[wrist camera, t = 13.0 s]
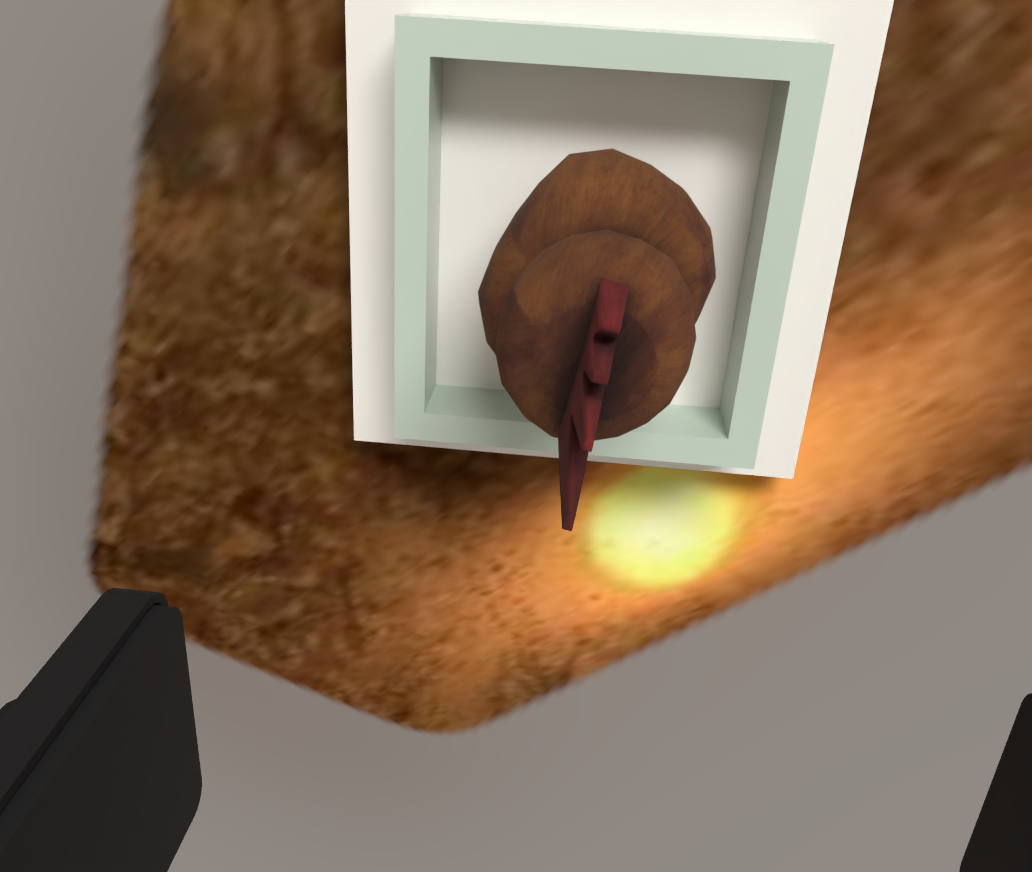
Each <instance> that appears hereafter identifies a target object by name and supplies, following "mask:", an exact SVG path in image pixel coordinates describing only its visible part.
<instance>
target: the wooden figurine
mask: <svg viewBox="0 0 1032 872" xmlns="http://www.w3.org/2000/svg"><path fill="white" fill-rule="evenodd" d="M715 279H716V267H715V258H714V248H713V239H712V233H711V228H710V226H709V225H708V223H707V222H706V220H705V219H704V217H703V216H702V214H701V213H700V211H699V210H698V208H697V207H696V205H695V204H694V202H693V201H692V199H691V198H690V196H689V195H688V193H687V192H686V191H685V190H684V189H683V188H682V187H681V186H679V185H678V184H677V183H675V182H674V181H673V180H671V179H670V178H669V177H667V176H666V175H664V174H663V173H662V172H660V171H659V170H658V169H656V168H655V167H654V166H652V165H651V164H648V163H646V162H644V161H641V160H639V159H637V158H634V157H632V156H629V155H627V154H625V153H622V152H620V151H617V150H615V149H613V148H612V149H604V150H596V151H588V152H581V153H573V154H569V155H568V156H567V157H565V158H564V159H563V160H562V161H561V162H560V163H559V164H558V165H557V166H556V167H555V168H554V169H553V170H552V171H551V172H550V173H549V174H548V175H547V176H545V177H544V178H543V179H542V180H541V181H540V182H539V183H538V185H537V186H536V187H535V189H534V190H533V191H532V192H531V194H530V195H529V196H528V198H527V199H526V200H525V202H524V203H523V204H522V205H521V207H520V208H519V209H518V211H517V212H516V213H515V215H514V217H513V218H512V220H511V222H510V223H509V225H508V227H507V228H506V230H505V232H504V233H503V235H502V237H501V238H500V240H499V242H498V243H497V245H496V247H495V249H494V252H493V254H492V256H491V259H490V261H489V264H488V267H487V269H486V272H485V274H484V277H483V279H482V282H481V285H480V287H479V290H478V298H479V305H480V311H481V316H482V321H483V326H484V332H485V337H486V342H487V344H488V345H489V346H490V348H491V349H492V350H493V352H494V353H495V355H496V359H497V364H498V369H499V374H500V379H501V384H502V385H503V387H504V388H505V390H506V391H507V393H508V394H509V395H510V397H511V398H512V400H513V401H514V403H515V404H516V406H517V407H518V408H519V410H520V411H521V413H522V414H523V415H524V417H525V418H526V419H528V420H529V421H531V422H532V423H533V424H535V425H536V426H538V427H539V428H540V429H542V430H543V431H544V432H546V433H547V434H549V435H550V436H551V437H555V438H558V452H559V474H560V495H561V515H562V529H565V530H569V531H572V528H573V524H574V520H575V515H576V510H577V506H578V501H579V496H580V491H581V487H582V482H583V477H584V472H585V468H586V463H587V458H588V453H589V452H592V448H593V445H594V441H595V440H602V439H608V438H615V437H619V436H621V435H623V434H626V433H628V432H630V431H632V430H634V429H636V428H638V427H640V426H643V425H645V424H647V423H648V422H649V421H650V420H651V419H653V418H654V417H655V416H656V415H657V414H659V413H660V412H661V411H662V410H663V409H665V408H666V407H667V406H668V405H670V403H671V401H672V399H673V398H674V396H675V394H676V392H677V391H678V389H679V387H680V385H681V384H682V382H683V380H684V378H685V376H686V374H687V372H688V370H689V366H690V362H691V358H692V354H693V350H694V346H695V342H696V330H695V324H696V322H697V320H698V318H699V316H700V314H701V311H702V309H703V307H704V305H705V302H706V300H707V298H708V295H709V293H710V291H711V288H712V286H713V284H714V281H715Z"/></svg>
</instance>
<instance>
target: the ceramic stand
mask: <svg viewBox="0 0 1032 872" xmlns="http://www.w3.org/2000/svg"><path fill="white" fill-rule="evenodd" d="M893 2H894V0H345V23H346V71H347V120H348V169H349V218H350V267H351V315H352V364H353V413H354V440H358V441H370V442H381V443H392V444H404V445H415V446H426V447H438V448H449V449H461V450H472V451H483V452H495V453H506V454H517V455H529V456H540V457H552V458H559V452H558V438H555V437H551V436H550V435H549V434H547V433H546V432H544V431H543V430H542V429H540V428H539V427H538V426H536V425H535V424H533V423H532V422H531V421H529V420H528V419H526V418H525V417H524V415H523V414H522V413H521V411H520V410H519V408H518V407H517V406H516V404H515V403H514V401H513V400H512V398H511V397H510V395H509V394H508V393H507V391H506V390H505V388H504V387H503V385H502V384H501V379H500V374H499V369H498V364H497V359H496V355H495V353H494V352H493V350H492V349H491V348H490V346H489V345H488V344H487V342H486V337H485V332H484V326H483V321H482V316H481V311H480V305H479V298H478V290H479V287H480V285H481V282H482V279H483V277H484V274H485V272H486V269H487V267H488V264H489V261H490V259H491V256H492V254H493V252H494V249H495V247H496V245H497V243H498V242H499V240H500V238H501V237H502V235H503V233H504V232H505V230H506V228H507V227H508V225H509V223H510V222H511V220H512V218H513V217H514V215H515V213H516V212H517V211H518V209H519V208H520V207H521V205H522V204H523V203H524V202H525V200H526V199H527V198H528V196H529V195H530V194H531V192H532V191H533V190H534V189H535V187H536V186H537V185H538V183H539V182H540V181H541V180H542V179H543V178H544V177H545V176H547V175H548V174H549V173H550V172H551V171H552V170H553V169H554V168H555V167H556V166H557V165H558V164H559V163H560V162H561V161H562V160H563V159H564V158H565V157H567V156H568V155H569V154H573V153H581V152H588V151H596V150H604V149H612V148H613V149H615V150H617V151H620V152H622V153H625V154H627V155H629V156H632V157H634V158H637V159H639V160H641V161H644V162H646V163H648V164H651V165H652V166H654V167H655V168H656V169H658V170H659V171H660V172H662V173H663V174H664V175H666V176H667V177H669V178H670V179H671V180H673V181H674V182H675V183H677V184H678V185H679V186H681V187H682V188H683V189H684V190H685V191H686V192H687V193H688V195H689V196H690V198H691V199H692V201H693V202H694V204H695V205H696V207H697V208H698V210H699V211H700V213H701V214H702V216H703V217H704V219H705V220H706V222H707V223H708V225H709V226H710V228H711V233H712V239H713V248H714V258H715V267H716V279H715V281H714V284H713V286H712V288H711V291H710V293H709V295H708V298H707V300H706V302H705V305H704V307H703V309H702V311H701V314H700V316H699V318H698V320H697V322H696V324H695V330H696V342H695V346H694V350H693V354H692V358H691V362H690V366H689V370H688V372H687V374H686V376H685V378H684V380H683V382H682V384H681V385H680V387H679V389H678V391H677V392H676V394H675V396H674V398H673V399H672V401H671V403H670V405H668V406H667V407H666V408H665V409H663V410H662V411H661V412H660V413H659V414H657V415H656V416H655V417H654V418H653V419H651V420H650V421H649V422H648V423H647V424H645V425H643V426H640V427H638V428H636V429H634V430H632V431H630V432H628V433H626V434H623V435H621V436H619V437H615V438H608V439H602V440H595V441H594V445H593V448H592V452H589V453H588V458H587V461H597V462H608V463H620V464H631V465H643V466H654V467H665V468H677V469H688V470H700V471H711V472H722V473H734V474H745V475H756V476H768V477H779V478H791V479H793V476H794V471H795V466H796V461H797V457H798V452H799V447H800V443H801V438H802V433H803V428H804V424H805V419H806V414H807V409H808V405H809V400H810V395H811V390H812V386H813V381H814V376H815V372H816V367H817V362H818V357H819V353H820V348H821V343H822V338H823V334H824V329H825V324H826V319H827V315H828V310H829V305H830V300H831V296H832V291H833V286H834V282H835V277H836V272H837V267H838V263H839V258H840V253H841V248H842V244H843V239H844V234H845V229H846V225H847V220H848V215H849V211H850V206H851V201H852V196H853V192H854V187H855V182H856V177H857V173H858V168H859V163H860V158H861V154H862V149H863V144H864V139H865V135H866V130H867V125H868V121H869V116H870V111H871V106H872V102H873V97H874V92H875V87H876V83H877V78H878V73H879V68H880V64H881V59H882V54H883V50H884V45H885V40H886V35H887V31H888V26H889V21H890V16H891V12H892V7H893Z"/></svg>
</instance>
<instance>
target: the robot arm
mask: <svg viewBox="0 0 1032 872" xmlns="http://www.w3.org/2000/svg"><path fill="white" fill-rule="evenodd" d="M201 789H202V777H201V769H200V761H199V753H198V744H197V736H196V728H195V719H194V712H193V703H192V695H191V686H190V678H189V671H188V662H187V654H186V646H185V637H184V629H183V620H182V615H181V612H180V610H179V608H176V607H169V606H168V602H167V599H166V597H165V596H164V594H162V593H159V592H150V591H140V590H130V589H120V588H111V589H108V590H107V591H106V592H105V593H104V594H102V596H101V597H100V598H99V599H98V600H97V602H96V603H95V604H94V605H93V606H92V608H91V609H90V610H89V611H88V613H87V614H86V615H85V616H84V617H83V619H82V620H81V621H80V622H79V624H78V625H77V626H76V627H75V628H74V630H73V631H72V632H71V633H70V634H69V636H68V637H67V638H66V640H65V641H64V642H63V643H62V644H61V646H60V647H59V648H58V649H57V650H56V652H55V653H54V654H53V655H52V656H51V658H50V659H49V660H48V661H47V662H46V664H45V665H44V666H43V667H42V669H41V670H40V671H39V672H38V674H37V675H36V676H35V677H34V678H33V680H32V681H31V682H30V683H29V684H28V686H27V687H26V688H25V689H24V690H23V692H22V693H21V694H20V695H19V697H18V698H17V699H15V700H13V701H11V702H8V703H7V704H5V706H3V707H2V708H1V709H0V872H167V871H168V869H169V867H170V864H171V863H172V861H173V859H174V856H175V855H176V853H177V850H178V848H179V846H180V844H181V842H182V840H183V838H184V836H185V834H186V832H187V830H188V828H189V826H190V824H191V822H192V820H193V818H194V816H195V813H196V811H197V808H198V805H199V801H200V796H201ZM960 872H1032V694H1028V695H1027V696H1026V697H1025V698H1024V699H1023V701H1022V703H1021V706H1020V708H1019V711H1018V714H1017V716H1016V719H1015V722H1014V724H1013V727H1012V730H1011V732H1010V735H1009V738H1008V740H1007V743H1006V745H1005V748H1004V751H1003V753H1002V756H1001V759H1000V761H999V764H998V767H997V769H996V772H995V775H994V777H993V780H992V783H991V785H990V788H989V791H988V793H987V796H986V798H985V801H984V804H983V806H982V809H981V812H980V814H979V817H978V820H977V822H976V825H975V828H974V830H973V833H972V836H971V838H970V841H969V843H968V846H967V849H966V852H965V854H964V857H963V859H962V862H961V866H960Z"/></svg>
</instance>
